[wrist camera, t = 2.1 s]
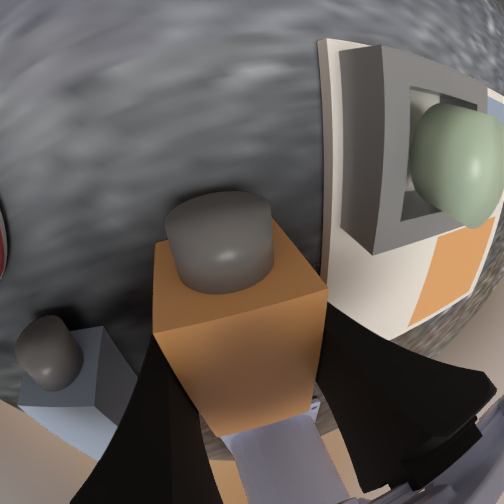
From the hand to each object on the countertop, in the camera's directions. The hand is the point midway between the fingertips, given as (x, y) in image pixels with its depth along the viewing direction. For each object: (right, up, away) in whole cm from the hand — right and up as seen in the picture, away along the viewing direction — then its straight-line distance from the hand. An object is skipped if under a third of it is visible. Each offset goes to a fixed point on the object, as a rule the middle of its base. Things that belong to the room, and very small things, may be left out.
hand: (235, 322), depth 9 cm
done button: (+7, +6, -2) cm, 9 cm away
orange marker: (0, 0, +1) cm, 1 cm away
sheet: (+11, +4, +3) cm, 12 cm away
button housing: (+6, +7, -1) cm, 9 cm away
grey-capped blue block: (-7, -4, +2) cm, 8 cm away
